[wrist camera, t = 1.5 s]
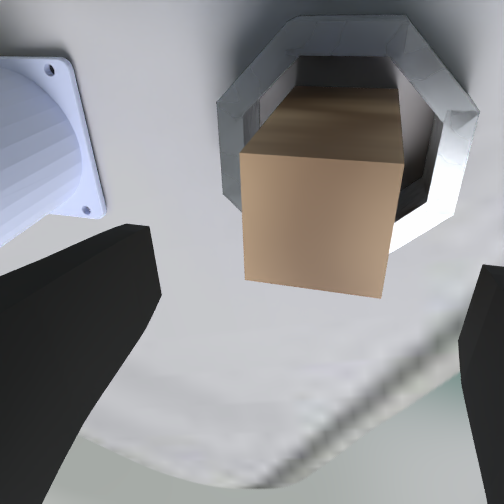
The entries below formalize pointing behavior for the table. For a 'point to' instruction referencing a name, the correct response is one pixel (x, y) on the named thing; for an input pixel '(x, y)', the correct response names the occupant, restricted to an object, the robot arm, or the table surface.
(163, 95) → the table surface
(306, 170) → the peg
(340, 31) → the collar
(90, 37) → the table surface
